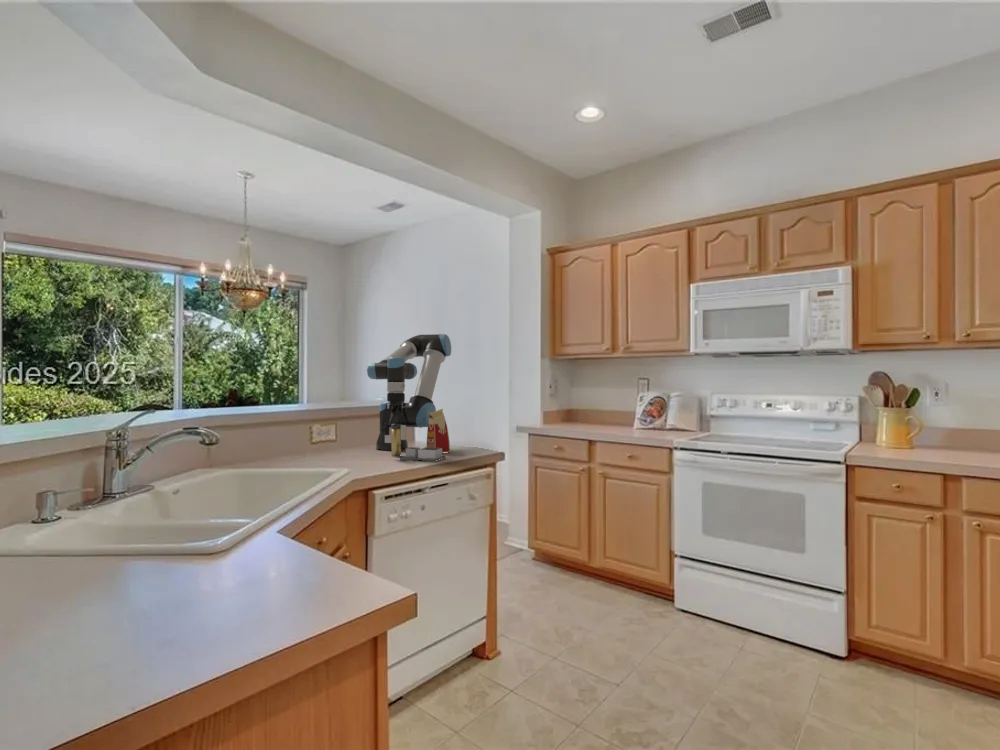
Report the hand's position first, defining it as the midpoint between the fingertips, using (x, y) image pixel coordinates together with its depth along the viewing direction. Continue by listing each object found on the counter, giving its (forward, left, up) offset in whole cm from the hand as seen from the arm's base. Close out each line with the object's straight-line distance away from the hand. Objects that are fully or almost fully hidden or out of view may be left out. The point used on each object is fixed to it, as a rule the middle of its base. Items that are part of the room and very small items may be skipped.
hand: (395, 441), depth 225 cm
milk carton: (-15, +13, -7) cm, 21 cm away
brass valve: (0, 0, -7) cm, 7 cm away
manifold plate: (+5, +15, -7) cm, 17 cm away
